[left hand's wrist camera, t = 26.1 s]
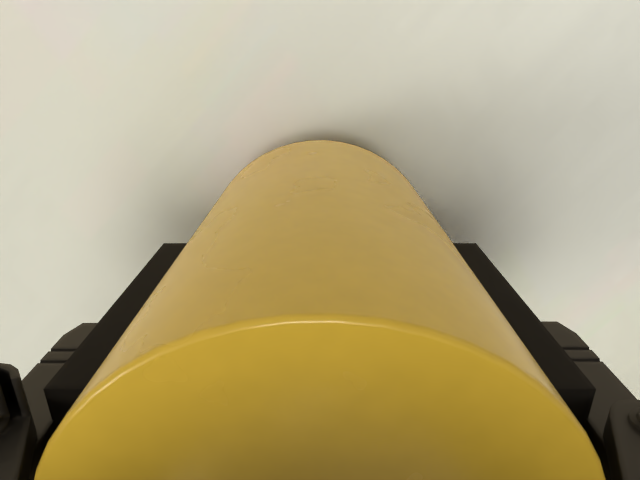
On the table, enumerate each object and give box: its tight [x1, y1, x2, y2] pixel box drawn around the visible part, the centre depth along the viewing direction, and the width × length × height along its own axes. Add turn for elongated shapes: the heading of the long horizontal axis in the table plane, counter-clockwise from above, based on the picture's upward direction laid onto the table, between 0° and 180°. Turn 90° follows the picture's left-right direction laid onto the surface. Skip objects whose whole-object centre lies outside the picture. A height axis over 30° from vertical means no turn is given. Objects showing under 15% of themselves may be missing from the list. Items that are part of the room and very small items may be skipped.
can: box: [34, 140, 606, 480], centre depth 11 cm, size 8×8×11 cm
